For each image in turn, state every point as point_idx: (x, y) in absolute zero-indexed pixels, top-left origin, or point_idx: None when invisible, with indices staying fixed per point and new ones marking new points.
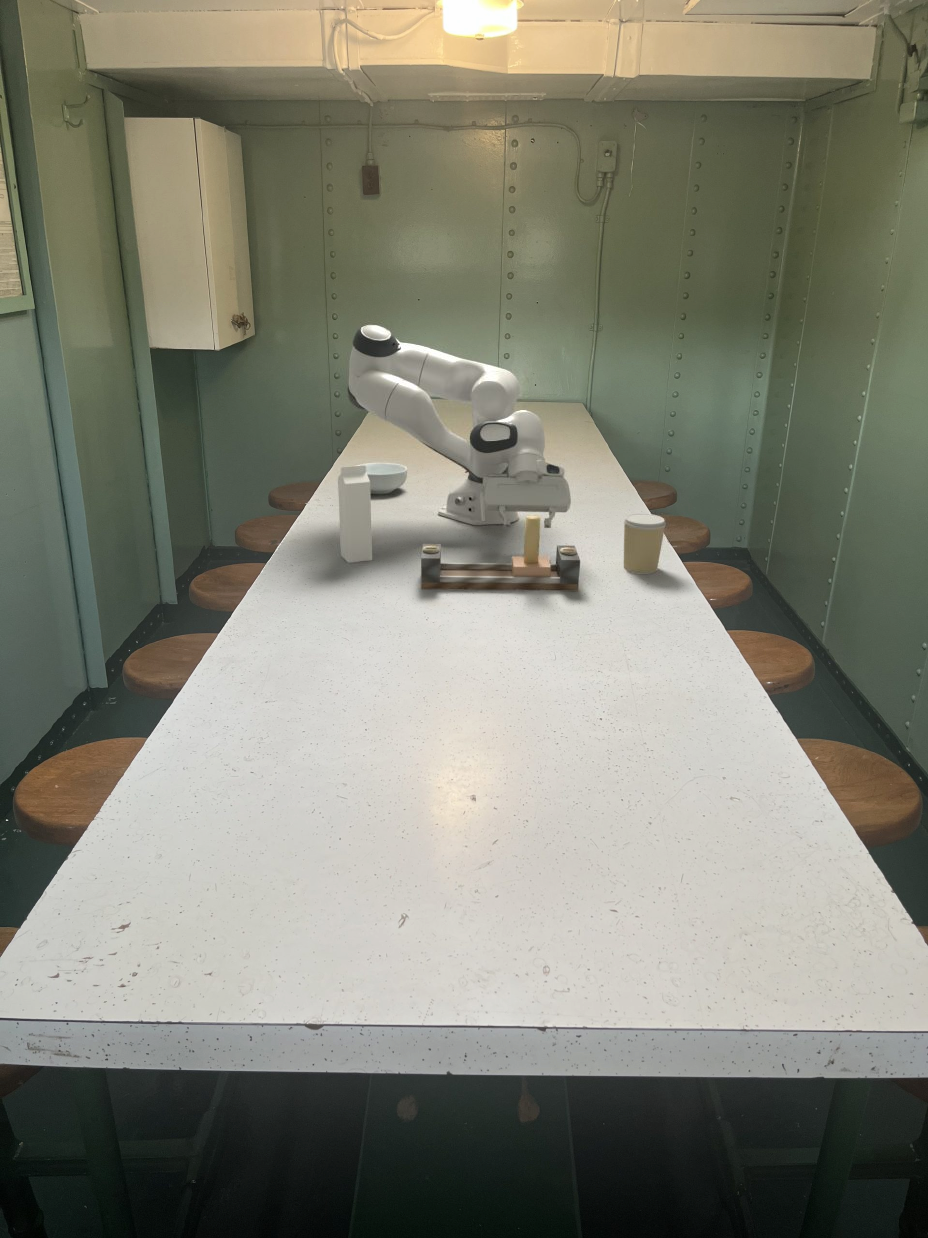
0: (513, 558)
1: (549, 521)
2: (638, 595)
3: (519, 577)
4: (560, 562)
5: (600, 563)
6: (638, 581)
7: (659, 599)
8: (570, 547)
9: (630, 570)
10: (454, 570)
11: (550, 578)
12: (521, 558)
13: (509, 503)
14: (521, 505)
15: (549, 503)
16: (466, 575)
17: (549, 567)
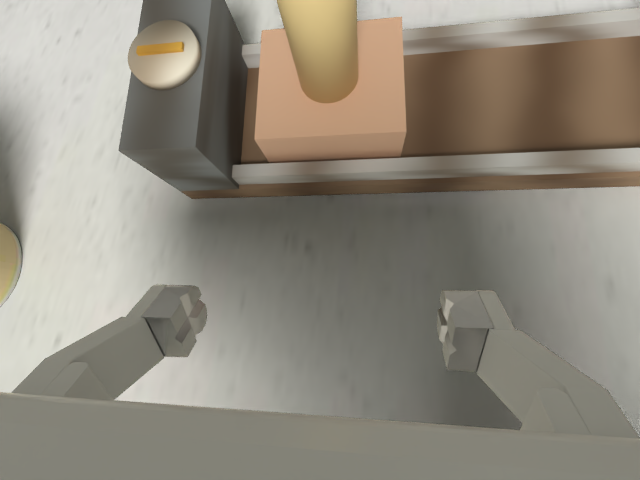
0: (400, 105)
1: (153, 296)
2: (64, 62)
3: None
4: (220, 18)
5: (75, 318)
6: (25, 159)
7: (27, 44)
8: (142, 123)
9: (10, 233)
10: (634, 141)
11: None
12: (365, 109)
13: (521, 439)
14: (350, 420)
15: (21, 411)
16: (573, 94)
17: (266, 31)
